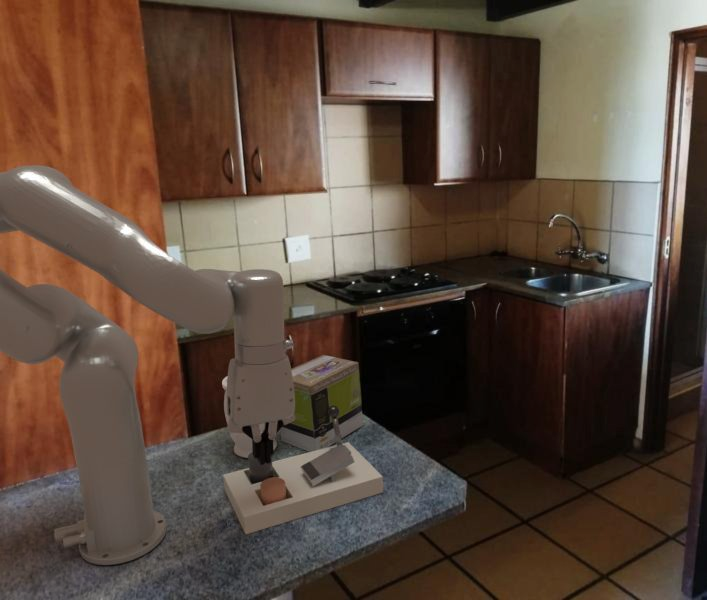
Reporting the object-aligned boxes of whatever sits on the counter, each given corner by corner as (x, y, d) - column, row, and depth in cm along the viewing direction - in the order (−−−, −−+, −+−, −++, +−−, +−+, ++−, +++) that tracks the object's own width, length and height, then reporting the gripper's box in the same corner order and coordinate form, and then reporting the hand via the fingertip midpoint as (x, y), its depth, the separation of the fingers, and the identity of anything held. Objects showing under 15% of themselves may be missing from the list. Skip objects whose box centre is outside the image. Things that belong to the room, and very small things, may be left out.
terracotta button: (266, 518, 94) (264, 493, 92) (259, 505, 97) (257, 481, 96) (290, 511, 95) (288, 486, 94) (282, 499, 99) (280, 475, 98)
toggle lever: (337, 451, 106) (329, 407, 106) (332, 450, 108) (324, 406, 108) (348, 448, 107) (340, 404, 107) (343, 447, 109) (335, 404, 109)
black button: (253, 487, 99) (251, 463, 98) (247, 476, 103) (245, 453, 102) (276, 481, 101) (274, 457, 100) (269, 470, 104) (267, 447, 103)
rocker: (313, 486, 97) (310, 479, 96) (302, 472, 101) (299, 466, 101) (354, 462, 99) (352, 455, 99) (342, 449, 104) (340, 443, 103)
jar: (267, 431, 124) (261, 364, 120) (291, 449, 116) (286, 378, 112) (220, 447, 118) (212, 377, 114) (242, 467, 110) (235, 393, 106)
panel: (245, 534, 90) (243, 510, 89) (224, 490, 103) (222, 468, 102) (383, 492, 100) (382, 469, 99) (349, 456, 112) (348, 436, 111)
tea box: (328, 415, 130) (325, 352, 127) (363, 427, 124) (361, 361, 120) (279, 442, 119) (274, 374, 116) (315, 456, 113) (311, 384, 109)
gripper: (297, 338, 96) (299, 441, 100) (205, 350, 90) (211, 459, 94) (314, 351, 89) (315, 461, 93) (216, 365, 83) (221, 482, 87)
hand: (263, 460), depth 94 cm, fingers closed
